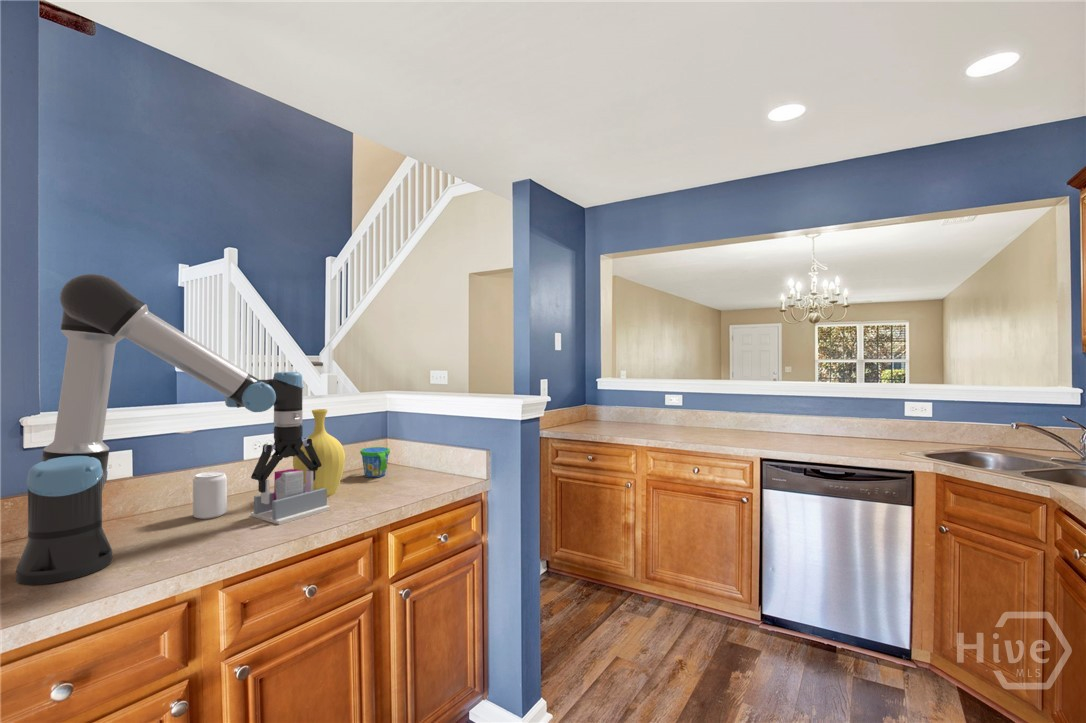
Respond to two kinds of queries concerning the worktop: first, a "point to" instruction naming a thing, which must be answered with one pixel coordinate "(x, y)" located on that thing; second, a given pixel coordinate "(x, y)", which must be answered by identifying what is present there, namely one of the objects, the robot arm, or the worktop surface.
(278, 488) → the supplement box
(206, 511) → the beverage can
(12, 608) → the worktop surface
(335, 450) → the vase
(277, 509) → the slot cradle
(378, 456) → the snack cup
